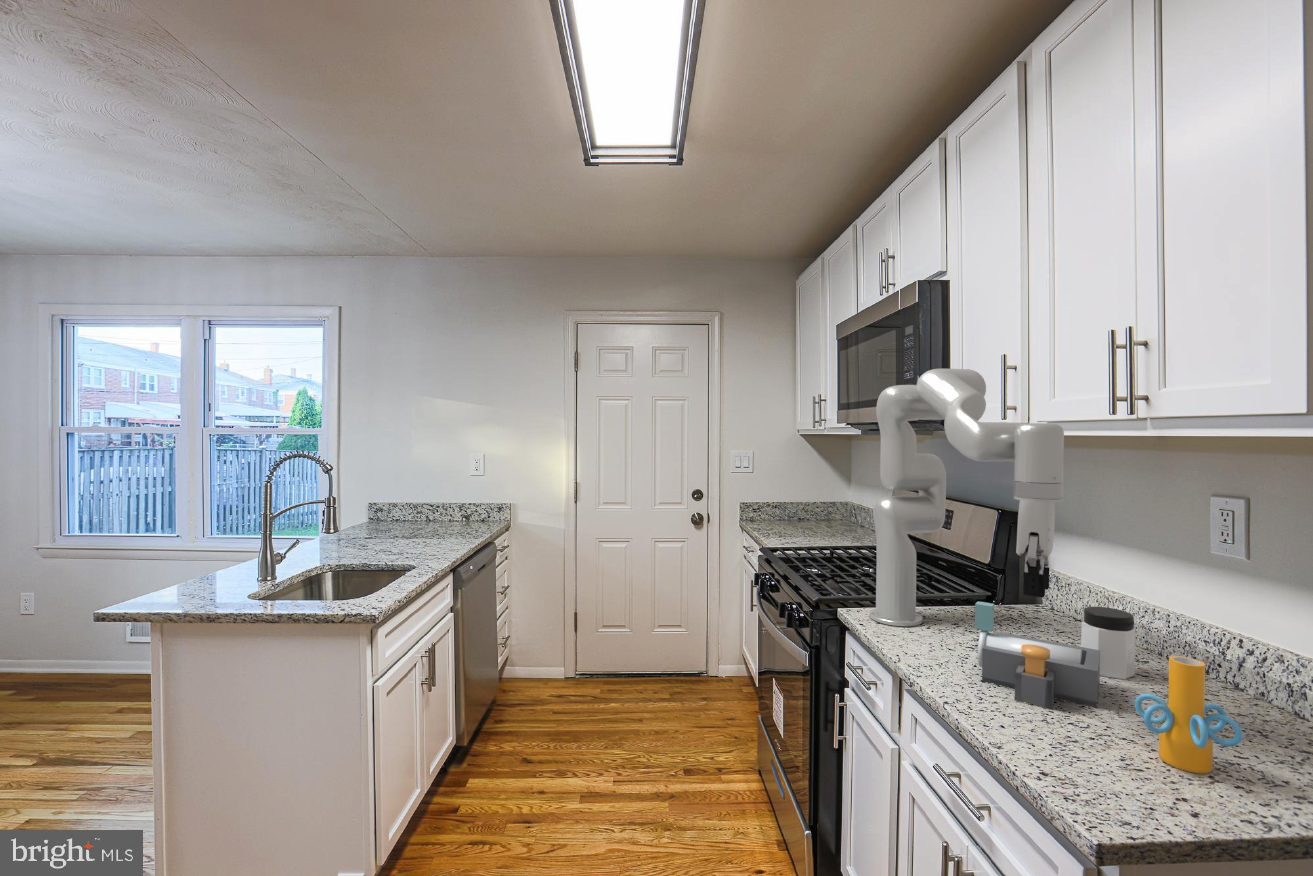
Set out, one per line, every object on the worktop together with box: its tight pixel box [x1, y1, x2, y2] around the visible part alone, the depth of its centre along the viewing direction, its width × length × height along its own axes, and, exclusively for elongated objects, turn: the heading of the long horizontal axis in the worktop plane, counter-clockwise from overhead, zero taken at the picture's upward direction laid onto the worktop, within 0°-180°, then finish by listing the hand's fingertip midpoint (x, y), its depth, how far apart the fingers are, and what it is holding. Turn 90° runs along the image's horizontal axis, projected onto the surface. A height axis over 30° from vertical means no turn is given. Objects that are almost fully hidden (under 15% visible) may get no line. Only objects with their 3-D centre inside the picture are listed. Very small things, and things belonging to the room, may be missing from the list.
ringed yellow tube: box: [1134, 655, 1244, 774], centre depth 90 cm, size 12×10×15 cm
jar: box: [1080, 606, 1137, 681], centre depth 125 cm, size 9×8×12 cm
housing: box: [981, 630, 1101, 710], centre depth 116 cm, size 19×18×6 cm
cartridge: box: [974, 601, 1082, 668], centre depth 120 cm, size 7×18×13 cm, turn 52°
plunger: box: [1021, 644, 1050, 677], centre depth 111 cm, size 4×4×7 cm
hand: (1036, 591), depth 111 cm, fingers open, 6 cm apart
